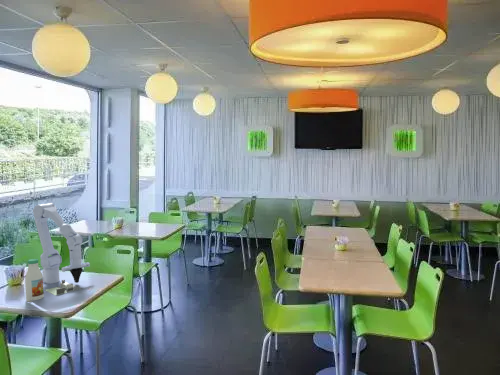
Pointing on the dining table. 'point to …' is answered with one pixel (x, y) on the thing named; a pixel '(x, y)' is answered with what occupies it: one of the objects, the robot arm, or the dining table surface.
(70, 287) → the swing bar
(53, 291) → the latch board
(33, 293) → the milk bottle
